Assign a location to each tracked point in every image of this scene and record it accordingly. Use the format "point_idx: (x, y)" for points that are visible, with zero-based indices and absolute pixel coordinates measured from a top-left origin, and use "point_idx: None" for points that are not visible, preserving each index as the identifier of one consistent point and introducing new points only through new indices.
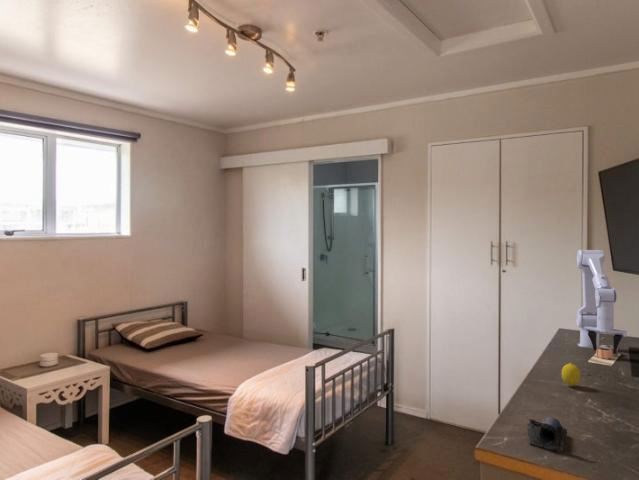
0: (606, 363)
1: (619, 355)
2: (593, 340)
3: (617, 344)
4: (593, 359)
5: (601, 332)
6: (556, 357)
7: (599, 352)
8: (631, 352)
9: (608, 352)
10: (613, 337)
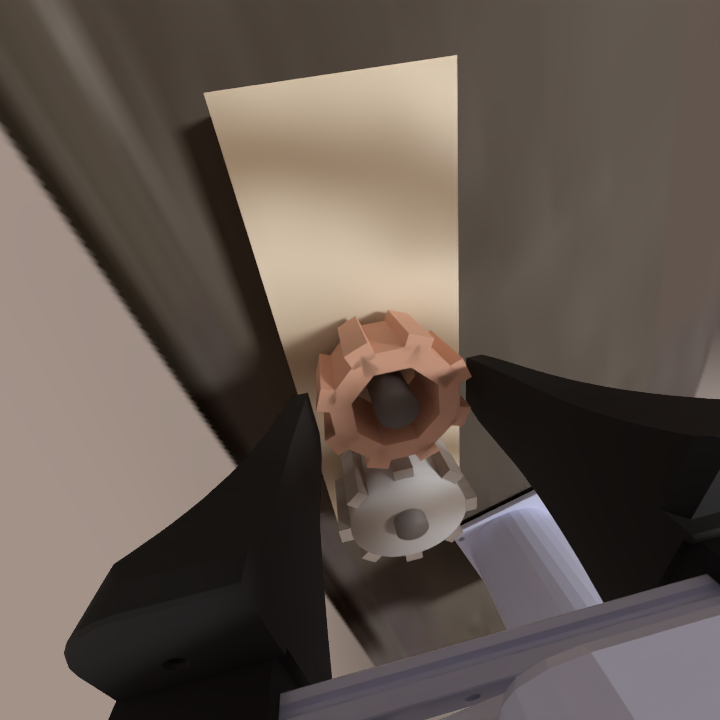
0: (286, 160)
1: (330, 496)
2: (575, 395)
3: (235, 470)
4: (430, 224)
5: (589, 636)
6: (695, 157)
7: (420, 329)
8: (340, 603)
9: (343, 366)
10: (244, 556)
